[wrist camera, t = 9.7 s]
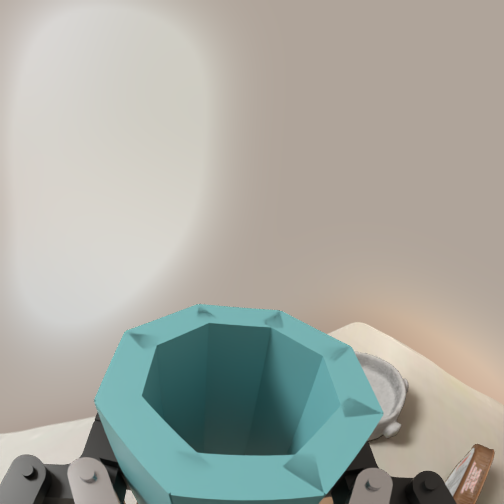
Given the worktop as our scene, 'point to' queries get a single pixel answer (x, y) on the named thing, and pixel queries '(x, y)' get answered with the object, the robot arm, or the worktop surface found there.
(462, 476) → the tin
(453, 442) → the worktop surface
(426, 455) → the worktop surface
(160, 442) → the collar
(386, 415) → the dish
